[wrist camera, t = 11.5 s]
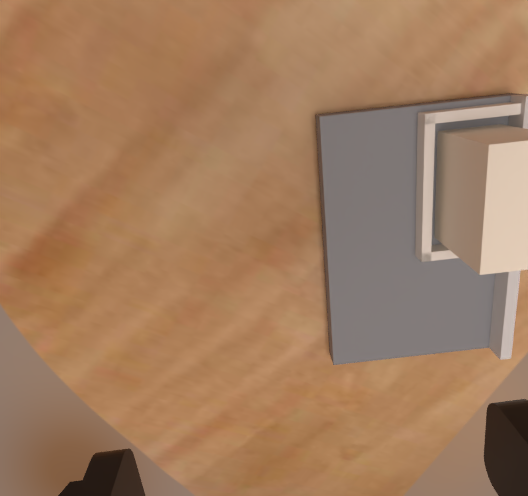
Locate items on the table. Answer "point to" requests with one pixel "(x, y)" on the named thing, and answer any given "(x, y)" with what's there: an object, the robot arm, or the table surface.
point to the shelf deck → (404, 236)
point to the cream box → (483, 196)
